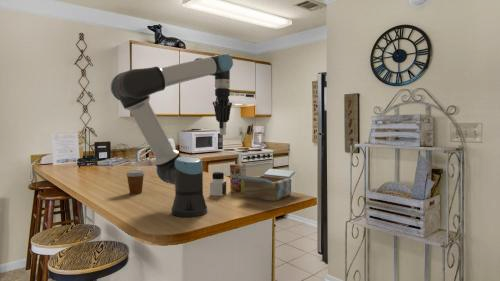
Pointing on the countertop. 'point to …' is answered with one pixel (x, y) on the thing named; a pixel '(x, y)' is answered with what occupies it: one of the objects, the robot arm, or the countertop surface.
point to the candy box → (236, 182)
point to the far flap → (279, 173)
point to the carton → (268, 188)
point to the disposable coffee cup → (135, 181)
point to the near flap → (255, 179)
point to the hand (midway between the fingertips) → (222, 134)
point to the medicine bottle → (218, 184)
